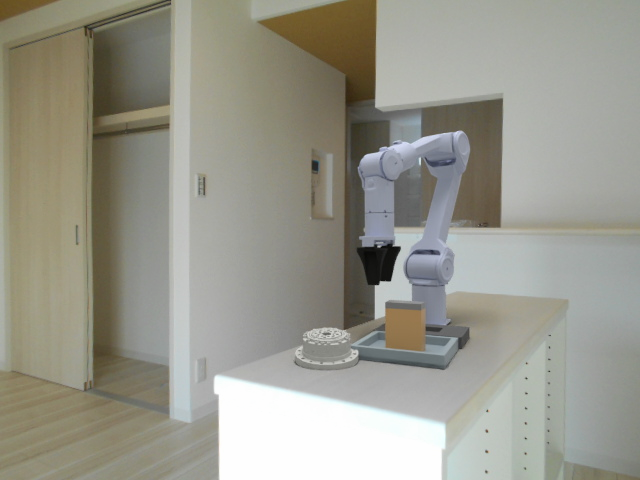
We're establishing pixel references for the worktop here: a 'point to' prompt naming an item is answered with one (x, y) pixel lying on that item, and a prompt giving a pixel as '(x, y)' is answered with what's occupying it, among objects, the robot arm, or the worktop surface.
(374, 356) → the parts tray
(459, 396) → the worktop surface
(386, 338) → the orange two-tone block
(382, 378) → the worktop surface
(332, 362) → the mechanical component
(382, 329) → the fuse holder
